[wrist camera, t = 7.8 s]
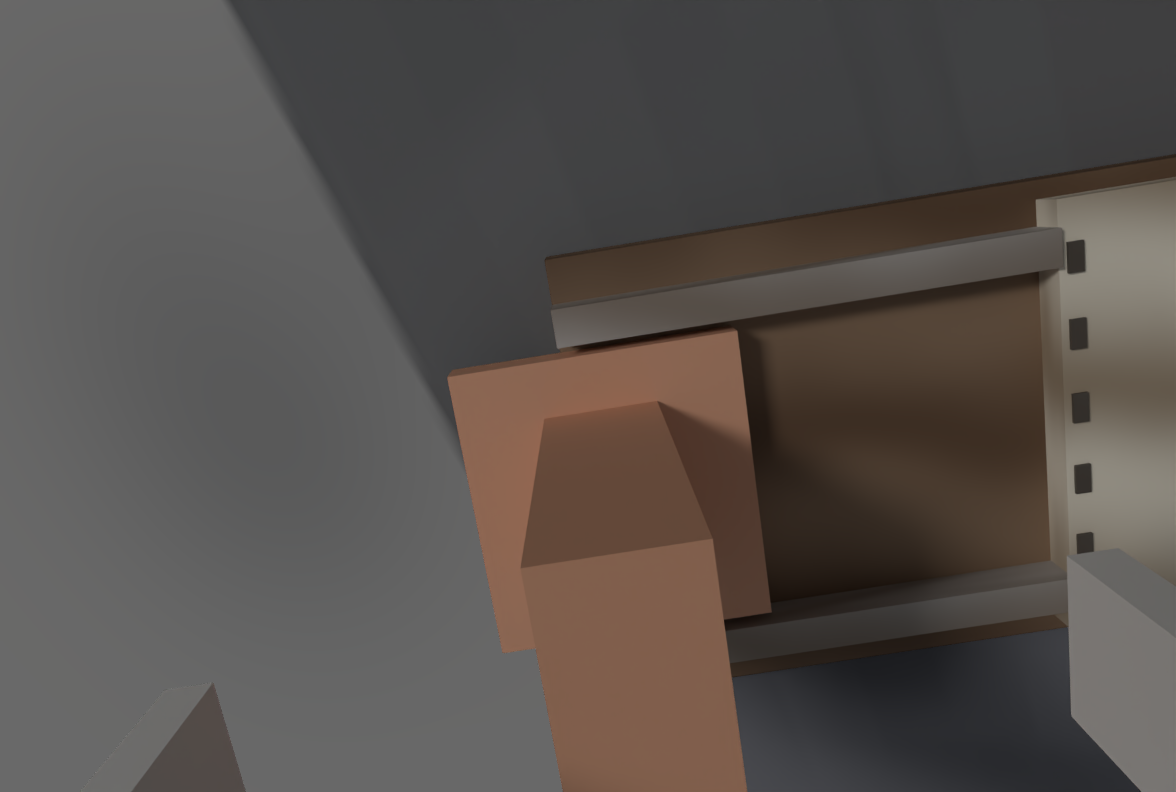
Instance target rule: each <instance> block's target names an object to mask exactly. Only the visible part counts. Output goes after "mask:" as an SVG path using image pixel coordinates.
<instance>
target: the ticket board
mask: <svg viewBox="0 0 1176 792" xmlns="http://www.w3.org/2000/svg"><path fill="white" fill-rule="evenodd" d="M545 266H546V272H547V278H548V284H549V289H550V295H551V301H552V307H551V315H552V321H553V327H554V333H555V338H556V344H557V349H558V348H560V353H562V352H568V351H574V350H580V349H586V348H593V347H599V346H605V345H611V344H618V343H624V342H630V341H636V340H643V339H649V338H655V337H661V336H668V335H674V334H680V333H686V332H692V331H699V330H705V329H711V328H717V327H724V326H730V325H731V326H732V327H733V328H734V329H736V330H737V333H738V341H739V349H740V357H741V365H742V374H743V382H744V390H745V398H746V406H747V414H748V423H749V431H750V439H751V447H752V455H753V464H754V472H755V480H756V488H757V496H758V504H759V513H760V521H761V529H762V537H763V545H764V554H765V562H766V570H767V578H768V586H769V594H770V603H771V611H772V612H771V613H764V614H758V615H751V616H745V617H738V618H731V619H725V620H724V625H725V633H726V640H727V647H728V655H729V662H730V669H731V677H738V676H744V675H751V674H758V673H764V672H771V671H778V670H784V669H791V668H798V667H804V666H811V665H818V664H824V663H831V662H838V661H844V660H851V659H857V658H864V657H871V656H877V655H884V654H891V653H897V652H904V651H911V650H917V649H924V648H931V647H937V646H944V645H951V644H957V643H964V642H971V641H977V640H984V639H991V638H997V637H1004V636H1011V635H1017V634H1024V633H1031V632H1037V631H1044V630H1051V629H1057V628H1064V627H1069V619H1068V583H1067V556H1068V555H1075V554H1082V553H1088V552H1095V551H1102V550H1109V549H1115V548H1119V549H1120V550H1122V551H1123V552H1125V553H1126V554H1128V555H1129V556H1131V557H1132V558H1134V559H1135V560H1137V561H1138V562H1140V563H1141V564H1143V565H1144V566H1146V567H1147V568H1149V569H1150V570H1152V571H1153V572H1155V573H1156V574H1158V575H1159V576H1161V577H1162V578H1164V579H1165V580H1167V581H1168V582H1170V583H1171V584H1173V585H1174V586H1176V154H1174V155H1168V156H1162V157H1156V158H1150V159H1144V160H1137V161H1131V162H1125V163H1119V164H1113V165H1107V166H1101V167H1094V168H1088V169H1082V170H1076V171H1070V172H1064V173H1058V174H1052V175H1045V176H1039V177H1033V178H1027V179H1021V180H1015V181H1009V182H1003V183H996V184H990V185H984V186H978V187H972V188H966V189H960V190H954V191H947V192H941V193H935V194H929V195H923V196H917V197H911V198H905V199H898V200H892V201H886V202H880V203H874V204H868V205H862V206H856V207H849V208H843V209H837V210H831V211H825V212H819V213H813V214H806V215H800V216H794V217H788V218H782V219H776V220H770V221H764V222H757V223H751V224H745V225H739V226H733V227H727V228H721V229H715V230H708V231H702V232H696V233H690V234H684V235H678V236H672V237H666V238H659V239H653V240H647V241H641V242H635V243H629V244H623V245H617V246H610V247H604V248H598V249H592V250H586V251H580V252H574V253H568V254H561V255H555V256H549V257H546V259H545Z"/></svg>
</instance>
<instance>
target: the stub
mask: <svg viewBox="0 0 1176 792" xmlns="http://www.w3.org/2000/svg"><path fill="white" fill-rule="evenodd" d="M447 379H448V384H449V389H450V394H451V399H452V404H453V409H454V414H455V419H456V423H457V428H458V433H459V438H460V443H461V448H462V453H463V458H464V463H465V468H466V473H467V478H468V483H469V488H470V493H471V498H472V503H473V508H474V513H475V517H476V523H477V527H478V533H479V538H480V542H481V548H482V552H483V557H484V563H485V567H486V572H487V577H488V582H489V587H490V592H491V597H492V602H493V607H494V612H495V617H496V622H497V627H498V632H499V637H500V642H501V647H502V652H503V653H507V652H514V651H521V650H527V649H534V648H536V653H537V658H538V663H539V669H540V673H541V679H542V684H543V689H544V695H545V700H546V705H547V710H548V715H549V720H550V726H551V731H552V736H553V741H554V746H555V752H556V757H557V763H558V768H559V773H560V778H561V783H562V789H563V792H747V787H746V779H745V772H744V765H743V757H742V750H741V743H740V735H739V728H738V721H737V713H736V706H735V699H734V691H733V684H732V677H731V669H730V662H729V655H728V647H727V640H726V633H725V625H724V620H725V619H731V618H738V617H745V616H751V615H758V614H764V613H771V612H772V611H771V603H770V594H769V586H768V578H767V570H766V562H765V554H764V545H763V537H762V529H761V521H760V513H759V504H758V496H757V488H756V480H755V472H754V464H753V455H752V447H751V439H750V431H749V423H748V414H747V406H746V398H745V390H744V382H743V374H742V365H741V357H740V349H739V341H738V333H737V330H736V329H734V328H733V327H732V326H731V325H730V326H724V327H717V328H711V329H705V330H699V331H692V332H686V333H680V334H674V335H668V336H661V337H655V338H649V339H643V340H636V341H630V342H624V343H618V344H611V345H605V346H599V347H593V348H586V349H580V350H574V351H568V352H562V353H555V354H549V355H543V356H537V357H530V358H524V359H518V360H512V361H505V362H499V363H493V364H487V365H480V366H474V367H468V368H462V369H456V370H452V372H451V373H450V374H449V376H448V377H447Z"/></svg>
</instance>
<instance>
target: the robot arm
mask: <svg viewBox="0 0 1176 792" xmlns="http://www.w3.org/2000/svg"><path fill="white" fill-rule="evenodd" d="M1067 583H1068V619H1069V655H1070V691H1071V716H1072V717H1073V719H1074V720H1075V721H1076V722H1077V723H1078V724H1079V725H1080V726H1081V727H1082V728H1083V729H1084V730H1085V731H1086V732H1087V734H1088V735H1089V736H1090V737H1091V738H1092V739H1093V740H1094V741H1095V742H1096V743H1097V744H1098V745H1099V746H1100V748H1101V749H1102V750H1103V751H1104V752H1105V753H1106V754H1107V755H1108V756H1109V757H1110V758H1111V759H1112V760H1113V762H1114V763H1115V764H1116V765H1117V766H1118V767H1119V768H1120V769H1121V770H1122V771H1123V772H1124V773H1125V774H1126V776H1127V777H1128V778H1129V779H1130V780H1131V781H1132V782H1133V783H1134V784H1135V785H1136V786H1137V787H1138V788H1139V790H1140V791H1141V792H1176V586H1174V585H1173V584H1171V583H1170V582H1168V581H1167V580H1165V579H1164V578H1162V577H1161V576H1159V575H1158V574H1156V573H1155V572H1153V571H1152V570H1150V569H1149V568H1147V567H1146V566H1144V565H1143V564H1141V563H1140V562H1138V561H1137V560H1135V559H1134V558H1132V557H1131V556H1129V555H1128V554H1126V553H1125V552H1123V551H1122V550H1120V549H1119V548H1115V549H1109V550H1102V551H1095V552H1088V553H1082V554H1075V555H1068V556H1067ZM80 792H246V791H245V787H244V784H243V781H242V777H241V774H240V771H239V767H238V764H237V761H236V757H235V754H234V751H233V747H232V744H231V741H230V737H229V734H228V730H227V727H226V724H225V721H224V717H223V714H222V710H221V707H220V704H219V700H218V697H217V694H216V690H215V687H214V684H213V683H207V684H200V685H193V686H187V687H180V688H173V689H166V690H164V692H163V693H162V694H161V695H160V697H159V698H158V699H157V700H156V701H155V702H154V703H153V705H152V706H151V707H150V708H149V710H148V711H147V712H146V713H145V714H144V716H143V717H142V718H141V719H140V720H139V721H138V723H137V724H136V725H135V726H134V727H133V729H132V730H131V731H130V732H129V734H128V735H127V736H126V737H125V738H124V740H123V741H122V742H121V743H120V744H119V745H118V747H117V748H116V749H115V750H114V751H113V753H112V754H111V755H110V756H109V757H108V759H107V760H106V761H105V762H104V763H103V764H102V766H101V767H100V768H99V769H98V770H97V772H96V773H95V774H94V775H93V776H92V778H91V779H90V780H89V781H88V782H87V784H86V785H85V786H84V787H83V788H82V790H81V791H80Z"/></svg>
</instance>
